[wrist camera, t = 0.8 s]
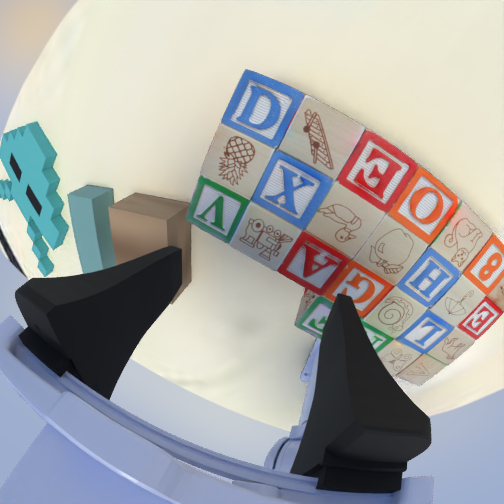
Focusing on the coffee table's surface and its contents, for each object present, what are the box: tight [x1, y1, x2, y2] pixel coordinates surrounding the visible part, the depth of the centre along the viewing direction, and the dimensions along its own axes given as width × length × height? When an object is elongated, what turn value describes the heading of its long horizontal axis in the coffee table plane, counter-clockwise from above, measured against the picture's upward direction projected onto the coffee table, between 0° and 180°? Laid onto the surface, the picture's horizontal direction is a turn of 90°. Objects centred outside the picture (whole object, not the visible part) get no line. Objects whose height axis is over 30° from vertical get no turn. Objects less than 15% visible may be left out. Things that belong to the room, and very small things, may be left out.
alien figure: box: [0, 122, 69, 277], centre depth 28 cm, size 20×2×20 cm
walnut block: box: [108, 193, 191, 304], centre depth 23 cm, size 8×6×4 cm
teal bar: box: [67, 185, 116, 274], centre depth 28 cm, size 22×4×3 cm, turn 173°
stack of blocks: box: [185, 69, 504, 386], centre depth 16 cm, size 21×6×12 cm
